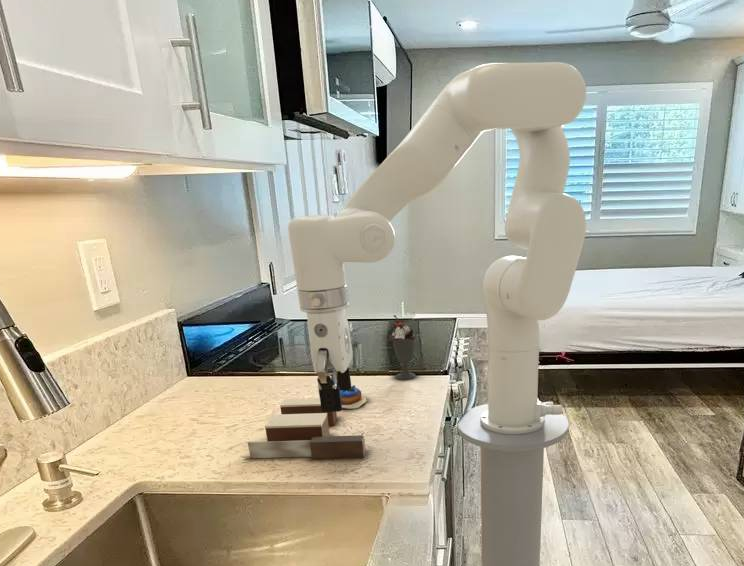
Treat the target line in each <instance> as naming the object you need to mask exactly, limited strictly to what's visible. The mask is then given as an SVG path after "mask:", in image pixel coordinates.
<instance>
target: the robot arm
mask: <svg viewBox="0 0 744 566" xmlns="http://www.w3.org/2000/svg"><path fill="white" fill-rule="evenodd" d="M586 99H587V87H586V83H585V80H584V77H583V75H582V74H581V73H580V71H579V70H578V69H577V68H576V67H575V66H573V65H571V64H569V63H566V62H563V61H562V62H561V61H544V62H543V61H542V62H491V63H484V64H481V65H478V66H475V67H473V68H471V69H469V70H466V71H464V72H461V73H459V74H457V75H456V76H455V77H453V78H452V79H451V80H450V81H449V82H448V83H447V84H446V85H445V86H444V88H443V89H442V90H441V91H440V93H439V94H438V95H437V97H436V98H435V99H434V101H432V103H431V104H430V105H429V107H428V108H427V109H426V110H425V112H424V113H423V115H422V116H421V117H420V118H419V119H418V121H417V122H416V123H415V125H414V126H413V127H411V129H410V131H408V133H407V134H406V135H405V137H404V138H403V139H402V140H401V142H400V143H399V144H398V145H397V146H396V147H395V148H394V150H392V151H391V152H390V153H389V155H387V156H386V158H385V159H384V160H383V161H382V162H381V163H380V164H379V165H378V166H377V168H376V169H374V171H373V172H371V174H370V175H368V177H367V178H366V179H365V180H364V181H363V182H362V184H360V186H359V187H358V188H357V189H356V191H355V192H354V193H353V194H352V196H350V198H349V199H348V201H347V202H346V203H345V205H343V207H342V208H341V210H340V211H339V213H337V215H336V216H333V215H329V214H315V215H314V214H313V215H303V216H296V217H293V218H291V220H290V221H289V222H288V225H287V229H288V230H287V231H288V239H289V244H290V250H291V258H292V263H293V269H294V276H295V283H296V289H297V296H298V303H299V308H300V311H301V312H302V313H306V319H307V320H306V321H307V330H308V341H309V348H310V356H311V362H312V366H313V370H314V372H315V373H316V374H317V379H316V380H317V389H318V395H319V398H320V402H321V409H322V411H323V412H336V413H337V412H342V409H343V408H342V404H341V396H340V390H350V389H351V387H352V380H351V373H350V363H351V362H352V360H353V357H354V351H353V345H352V339H351V334H350V327H349V321H348V316H347V312H346V309H347V308H348V307H349V306H350V305H349V297H348V289H347V288H348V287H347V280H346V271H345V270H346V269H345V264H344V263H365V264H367V263H377V262H379V261H382V260H383V259H385V258H387V257H388V256H389V255H390V253H391V252H392V250H393V249H394V246H395V242H396V234H395V229H394V227H393V225H392V224H391V221H393V219H395V217H396V216H397V215H398V214H399V213H400V212H402V211H403V210H404V208H406V207H407V206H408V205H409V204H411V203H413V202H414V201H415V200H417V199H419V198H421V197H423V196H425V195H427V194H428V193H431V192H432V191H433V190H435V189H436V188H438V187H439V186H441V184H443V182H444V181H445V180H446V179H447V177H448V176H449V175H450V174H451V172H452V171H453V170H454V168H455V167H457V164H458V163H459V162H460V161H461V160H462V159H463V158H464V156H465V155H466V153H468V151H469V150H470V149H471V147H472V146H473V144H474V143H475V142H476V141H477V140H478V138H479V137H480V136H481V135H482V134H483V133H484V132H488V131H493V130H507V129H508V130H511V132H512V134H513V135H514V137H515V140H516V142H517V147H518V153H519V160H518V167H517V171H516V177H515V181H514V184H513V190H512V193H511V197H510V200H509V205H508V208H507V212H506V216H505V221H504V233H505V236H506V237H505V238H506V239H507V241H508V242H509V243H510V244H511V245H512V246H514V247H516V248H519V249H520V250H525V251H527V253H526V256H525V257H522V256H517V255H508V256H503V257H500V258H499V259H496V260H495V261H493V262H492V263H491V264H490V265H489V267H488V268H487V269H486V272H485V274H484V277H483V283H482V293H483V294H482V295H483V301H484V307H485V313H486V323H487V324H486V325H487V404H488V410H486V411H484V412H483V413H482V414H481V416H480V423H481V425H482V426H483V427H484V428H486V429H488V430H490V431H493V432H496V433H501V434H526V433H530V432H534V431H537V430H539V429H540V428H542V427H543V426H544V424H545V415H549V414H552V415H561V414H563V406H562V404H554V402H553V401H546V402H545V401H541V400H540V399H539V397H538V395H539V365H540V364H539V360H540V324H539V321H546V320H549V319H551V318H553V317H554V316H556V315H557V314H558V313H559V312H560V311H561V310H562V308H563V306H564V305H565V303H566V302H567V299H568V296H569V293H570V291H571V288H572V284H573V281H574V278H575V273H576V270H577V268H578V267H577V266H578V263H579V260H580V256H581V253H582V249H583V246H584V242H585V239H586V232H587V221H586V213H585V211H584V208H583V206H582V204H581V203H580V202H579V201H578V200H577V198H575V197H573V196H572V195H570V194H567V193H565V189H566V185H567V179H568V176H569V171H570V164H571V155H570V147H569V143H568V140H567V137H566V135H565V132H564V130H563V127H564V126H567V125H570V123H572V122H573V121H574V120H576V119H577V118H578V117H579V116H580V114H581V112H582V111H583V109H584V106H585V103H586Z"/></svg>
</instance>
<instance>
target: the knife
mask: <svg viewBox="0 0 744 566" xmlns="http://www.w3.org/2000/svg"><path fill="white" fill-rule="evenodd" d="M365 441H366V440H365V435H363V434H361V435H360V434H358V435H330V436H322V437H312V439H311V440H303V441H269V442H268V441H248V442H247V447H248V452H249V453H248V454H249V458H250V459H268V458H269V459H272V458H273V459H275V458H276V459H277V458H303V457H304V458H305V457H306V458H307V457H309V458H310V457H311V459H312V460H326V459H327V460H328V459H330V460H331V459H359V458H360V459H361V458H363V459H364V458H365V454H366V442H365Z"/></svg>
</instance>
